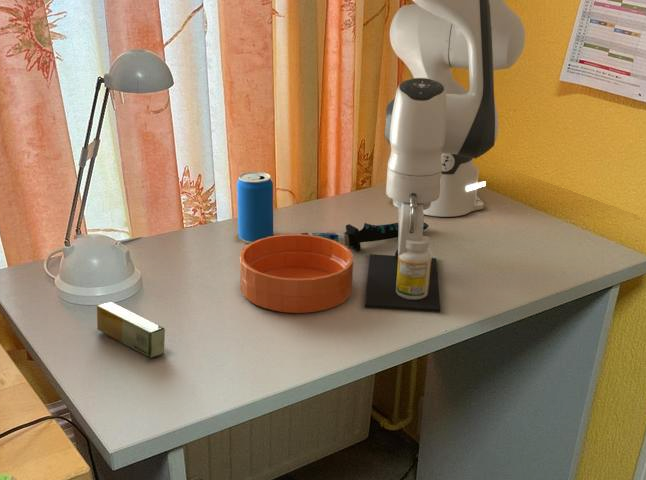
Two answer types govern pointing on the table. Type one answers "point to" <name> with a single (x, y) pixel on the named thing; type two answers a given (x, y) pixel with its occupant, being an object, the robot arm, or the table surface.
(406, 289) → the supplement bottle
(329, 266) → the bowl
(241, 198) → the beverage can
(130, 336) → the medication box
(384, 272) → the mat
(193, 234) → the table surface
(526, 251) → the table surface
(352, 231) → the knife
